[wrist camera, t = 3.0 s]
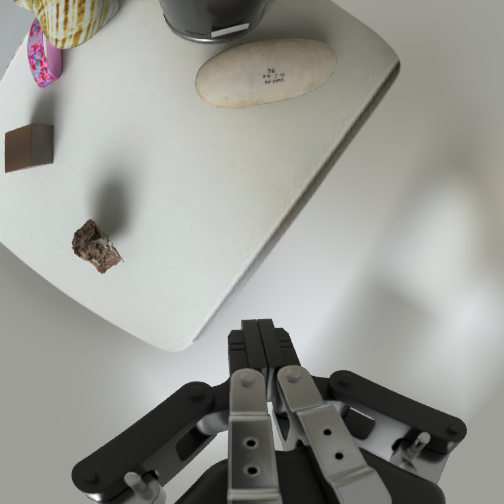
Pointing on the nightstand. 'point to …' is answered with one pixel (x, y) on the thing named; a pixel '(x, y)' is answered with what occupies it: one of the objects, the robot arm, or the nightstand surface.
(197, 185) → the nightstand surface
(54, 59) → the headband
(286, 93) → the stone
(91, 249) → the rock
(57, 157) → the nightstand surface
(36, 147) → the brown cube block
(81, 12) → the seashell
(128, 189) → the nightstand surface
